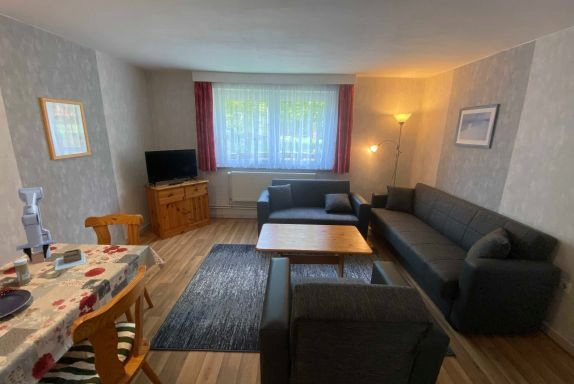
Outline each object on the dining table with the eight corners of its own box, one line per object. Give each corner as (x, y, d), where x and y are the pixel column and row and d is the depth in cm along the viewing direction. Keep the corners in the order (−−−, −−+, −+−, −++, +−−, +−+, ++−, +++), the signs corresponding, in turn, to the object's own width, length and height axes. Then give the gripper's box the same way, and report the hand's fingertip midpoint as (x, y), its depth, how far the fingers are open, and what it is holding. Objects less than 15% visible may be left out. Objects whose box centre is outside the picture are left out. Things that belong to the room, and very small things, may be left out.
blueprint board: (56, 260, 153) (55, 258, 152) (85, 254, 162) (85, 252, 161) (54, 272, 140) (54, 270, 140) (86, 264, 149) (86, 263, 149)
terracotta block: (33, 261, 138) (32, 252, 137) (45, 258, 141) (43, 250, 140) (33, 264, 134) (31, 256, 133) (44, 262, 137) (43, 253, 136)
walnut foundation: (64, 258, 154) (63, 251, 153) (81, 254, 159) (80, 248, 158) (64, 263, 148) (63, 256, 147) (81, 259, 153) (80, 253, 152)
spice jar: (30, 285, 128) (25, 261, 125) (17, 287, 126) (11, 263, 123) (32, 280, 132) (27, 257, 129) (20, 283, 129) (15, 259, 126)
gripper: (13, 241, 127) (18, 266, 130) (52, 235, 136) (56, 258, 139) (15, 237, 132) (20, 260, 135) (52, 231, 141) (57, 253, 144)
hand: (38, 259), depth 137 cm, fingers closed on terracotta block, 5 cm apart
